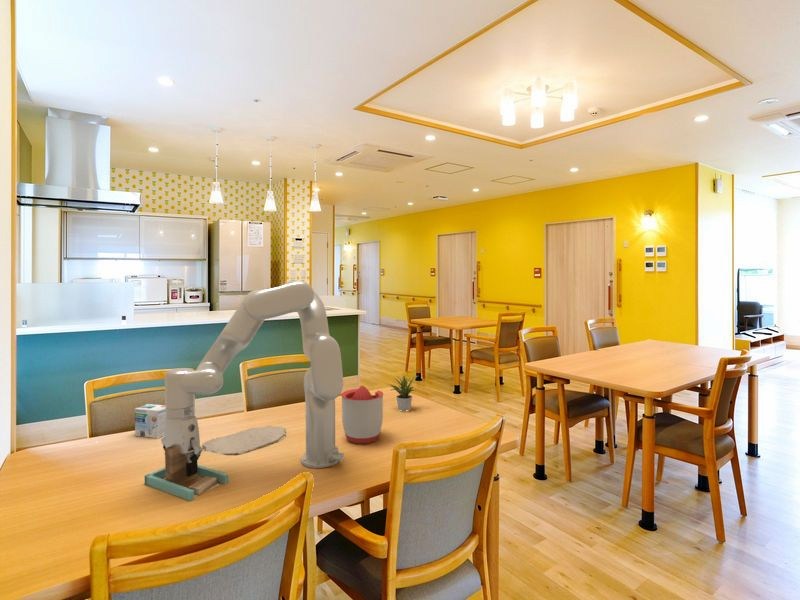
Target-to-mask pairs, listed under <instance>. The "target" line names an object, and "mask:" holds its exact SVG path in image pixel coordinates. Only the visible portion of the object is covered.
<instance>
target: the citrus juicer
mask: <svg viewBox="0 0 800 600" xmlns="http://www.w3.org/2000/svg"><path fill="white" fill-rule="evenodd" d="M340 396H341V420H342V428H343V431H344V435H345V437H346V440H347V441H348V442H351V443H355V444H364V445H365V444H366V445H367V444H370V443H373V442H375V441H377V440H378V439H379V436H380V434H381V430H382V426H383V420H384V419H383V418H384V417H383V415H384V413H383V412H384V411H383V410H384V409H383V408H384V406H383V405H384V403H383V401H384V399H383V398H384V392H383V391H381V390H377V391H375V394H371V392H370V391H369V390H368V388H366V386H364V385H360V387H358V388H355V389H349V390H346V391H343V392H341V393H340Z"/></svg>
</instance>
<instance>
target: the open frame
mask: <svg viewBox="0 0 800 600" xmlns="http://www.w3.org/2000/svg"><path fill="white" fill-rule="evenodd" d="M199 476H200V477H202V478H204V477H206V476H208V477H215V478H217V483H220V484H223V485H225V484H227V483H229V474H228V473H225V472H222V471H219V470H216V469H213V468H209V467H206V466H203V465H200V464H198V477H199ZM164 478H165V479H164ZM144 485H146V486H149V487H151V488H154V489H158V490H160V491H163V492H165V493H168V494H171V495H174V496H175V497H179V498H182V499H184V500H186V501H189V502H191V501H193V500H195V497H194V490H192V489H189V488H188V487H185V486H184V485H178V484H175V483H172V482H169V481H167V480H166V471H165V467H163V468H160V469H158V470H155V471H153V472H151V473H147V474H145V475H144Z"/></svg>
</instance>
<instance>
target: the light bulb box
mask: <svg viewBox="0 0 800 600" xmlns="http://www.w3.org/2000/svg"><path fill="white" fill-rule="evenodd" d="M165 421H166V405H164V404H163V405H162V404H153V403H152V404H151V403H147V404H144V405H141V406H139V407H135V408H134V431H135V433H134V434H135V435H134V436H135V437H139V436H144V437H143V438H147V437H153V438H152V439H155V438H158V437H161V436H163V435H164V433H165ZM163 437H164V436H163ZM161 438H162V437H161Z"/></svg>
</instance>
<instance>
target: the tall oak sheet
mask: <svg viewBox="0 0 800 600" xmlns="http://www.w3.org/2000/svg"><path fill="white" fill-rule="evenodd" d="M190 450H191V449H188V451H190ZM189 455H190V457H191V456H192V455H193V454H192V453H190V454H189ZM164 461H165V462H164V465H165V466H164V468H165V471H166V477H165V480H167V481H169V482H172V483H175V484H178V485H181V486H183V485H184V484H186V483H188V482H190V481H192V480H194V479H196V478H198V477H199V475H198V472H197V473H196V474H194V475H192V476H189V477H187V476H186V463H187V462H188V461H187V459H186V457H185V454H181V453H178V448H175V447H172V446H170V447H167V448H165V450H164ZM198 465H199V464H198V462H197V471H198Z"/></svg>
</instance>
